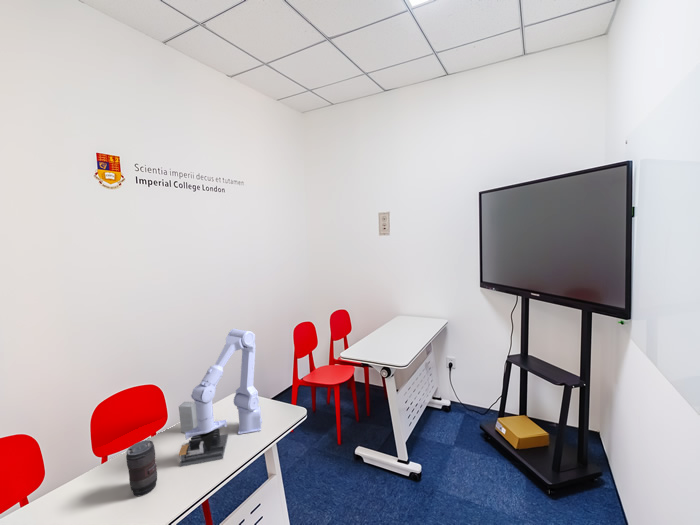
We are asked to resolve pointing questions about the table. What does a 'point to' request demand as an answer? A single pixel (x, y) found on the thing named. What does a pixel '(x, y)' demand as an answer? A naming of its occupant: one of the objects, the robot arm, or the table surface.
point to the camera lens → (142, 467)
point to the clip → (196, 451)
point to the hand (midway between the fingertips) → (208, 449)
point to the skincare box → (188, 416)
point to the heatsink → (214, 453)
